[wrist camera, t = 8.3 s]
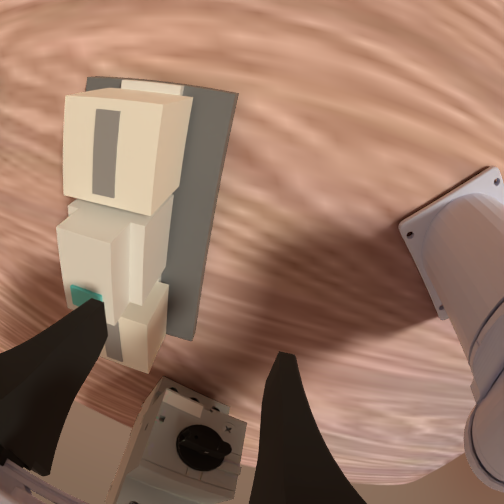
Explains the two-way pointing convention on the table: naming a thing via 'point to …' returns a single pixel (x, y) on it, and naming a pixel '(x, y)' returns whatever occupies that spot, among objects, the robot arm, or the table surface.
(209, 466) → the circuit breaker
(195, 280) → the rail plate
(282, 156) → the table surface
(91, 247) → the block
